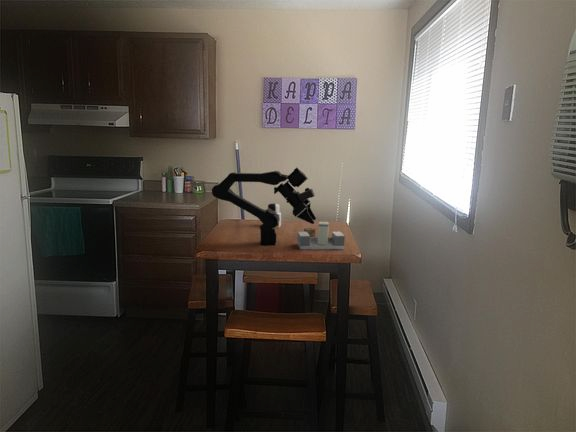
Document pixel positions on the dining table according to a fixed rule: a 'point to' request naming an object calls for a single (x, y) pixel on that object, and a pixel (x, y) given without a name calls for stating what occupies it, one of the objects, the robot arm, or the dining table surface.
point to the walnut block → (310, 231)
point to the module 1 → (303, 239)
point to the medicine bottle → (276, 208)
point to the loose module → (323, 233)
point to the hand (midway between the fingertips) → (314, 221)
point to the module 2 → (338, 238)
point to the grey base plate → (315, 244)
